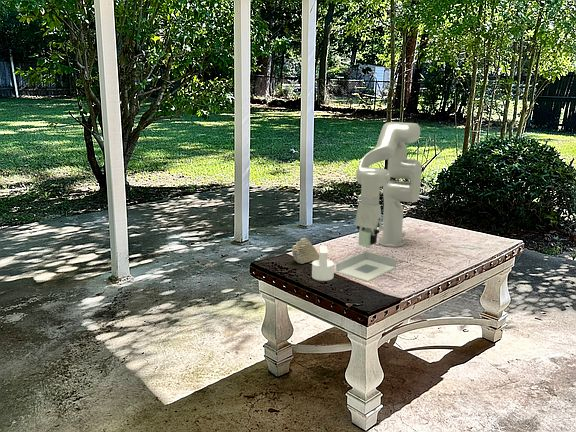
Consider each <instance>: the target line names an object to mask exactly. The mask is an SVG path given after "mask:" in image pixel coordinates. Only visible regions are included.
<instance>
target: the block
mask: <svg viewBox="0 0 576 432" xmlns="http://www.w3.org/2000/svg"><path fill="white" fill-rule="evenodd" d="M371 235H372V232H371V229H368V228H365V229H364V230H361V231H359V230H358V246H361V247H365V248H369V247H371V246H373V245H377V244H378V243H377V241H378V234H377V235H376V243H375V244H372V245H371V244H370V240H371Z"/></svg>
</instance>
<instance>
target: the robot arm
mask: <svg viewBox="0 0 576 432" xmlns="http://www.w3.org/2000/svg"><path fill="white" fill-rule="evenodd" d="M379 133H380V134H379V136H378V140H377V143H376V146H375V148H373V149H371V150H370V151H369V152H367V153H366V154H365V155H364V156H362V158H361V159H360V161H359V164H358V167H357V170H356V174H355V180H356V182H357V183H358V184H360V185H361V186H360V187H361V189H360V190H361V191H360V192H361V193H360V195H359V196H358V199H359V200H360V202H359V203H358V206H357V210H356V215H355V221H354V222H353V225H354V226H355V227H356V228H357V230H358V232H359V231H361V230H364V229H367V228H368V229H371V232H372V235H371V240H370V244H371V245H372V244H374V245H376V244H375V243H376V235H377V236H378V234H379V233H380V232H382V235H381V236H382V237H381V238H379V240H378V243H379V244H380V245H382V246H385V247H389V248H398V247H400V248H401V247H402V246H405V241H404V239H403V237H406V233H405V232H403V221H404V220H403V219H404V207H403V205H402V203H401V202H407V203H416V202H418V201H419V198H420V192H421V181H422V164H421V162H420V160H418V159H411V158H407V154H408V147H407V145H406V144H414V143H415V142H417V141H418V140H419V138H420V136H421V128H420V125H419V123H416V122H415V123H414V122H401V121H399V122H398V121H397V122H396V121H389V122H386V123H384V124H383V126H382V128H381V130H380V132H379ZM386 160H387V169H386V168H381V167H380V168H379V167H370V166H372V165H374V164H376V163H381V162H383V161H386ZM391 178H393V179H403V180H404V179H405V180H409V181H401V180H391ZM381 187H382V195H383V214H382V209H381V204H380V192H381V191H380V190H381ZM382 216H383V218H382ZM372 246H373V245H372Z"/></svg>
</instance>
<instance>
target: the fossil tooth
mask: <svg viewBox="0 0 576 432" xmlns="http://www.w3.org/2000/svg"><path fill="white" fill-rule="evenodd" d="M291 252H292V257H293V258H294V259H293V260H294V261H295V262H297V263H298V264H302V265H303V264H305V263H310V262H311V263H312V262H313V261H315V260H319V252H318V251H317V249H316V248H315V246H314V245H313V244H312V242H311V241H310V240H309V238H306V237H301V238H300V239H299V240H298V241H296V242H295V245H293V246H292V249H291Z"/></svg>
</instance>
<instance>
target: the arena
mask: <svg viewBox="0 0 576 432" xmlns="http://www.w3.org/2000/svg"><path fill="white" fill-rule="evenodd" d="M397 260H398V259H397V258H394V257H391V256H387V255H382V254H378V253H374V252H373V251H372V252H371V251H368V250H365V251H363V252H360V253H357V254H356V255H353V256H350V257H348V258H345V259H343V260H341V261H339V262H336V270H335V273H337V272H338V274H340V273H341V275H344V276H347V277H350V278H354V279H357V280H360V281H364V282H367V283H369V282H371V281H373V280H374V279H376V278H379V277H381V276H382V275H385V274H387V273H389V272H390V271H393V270H395V269H397ZM368 281H369V282H368Z"/></svg>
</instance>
